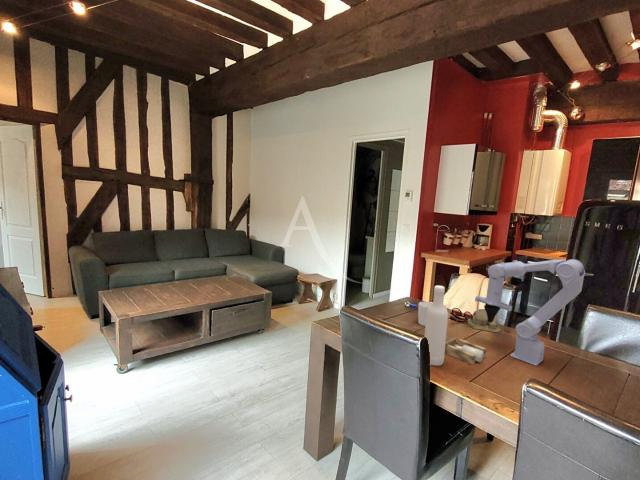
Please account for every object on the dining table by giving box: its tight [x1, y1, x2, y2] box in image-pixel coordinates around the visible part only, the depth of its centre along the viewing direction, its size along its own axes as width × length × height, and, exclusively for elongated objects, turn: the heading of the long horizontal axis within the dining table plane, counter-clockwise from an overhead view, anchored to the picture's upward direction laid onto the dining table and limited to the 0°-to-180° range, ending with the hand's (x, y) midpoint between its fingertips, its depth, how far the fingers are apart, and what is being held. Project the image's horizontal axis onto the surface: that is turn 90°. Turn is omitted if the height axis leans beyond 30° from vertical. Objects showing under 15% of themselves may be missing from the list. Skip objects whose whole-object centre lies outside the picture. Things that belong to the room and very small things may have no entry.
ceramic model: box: [467, 308, 501, 333], centre depth 162 cm, size 14×11×10 cm
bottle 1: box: [424, 284, 449, 367], centre depth 127 cm, size 8×8×30 cm
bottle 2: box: [454, 343, 484, 363], centre depth 132 cm, size 5×5×10 cm
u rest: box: [445, 337, 487, 366], centre depth 135 cm, size 14×11×4 cm
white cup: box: [417, 301, 433, 327], centre depth 165 cm, size 8×8×10 cm
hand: (490, 321), depth 143 cm, fingers closed
